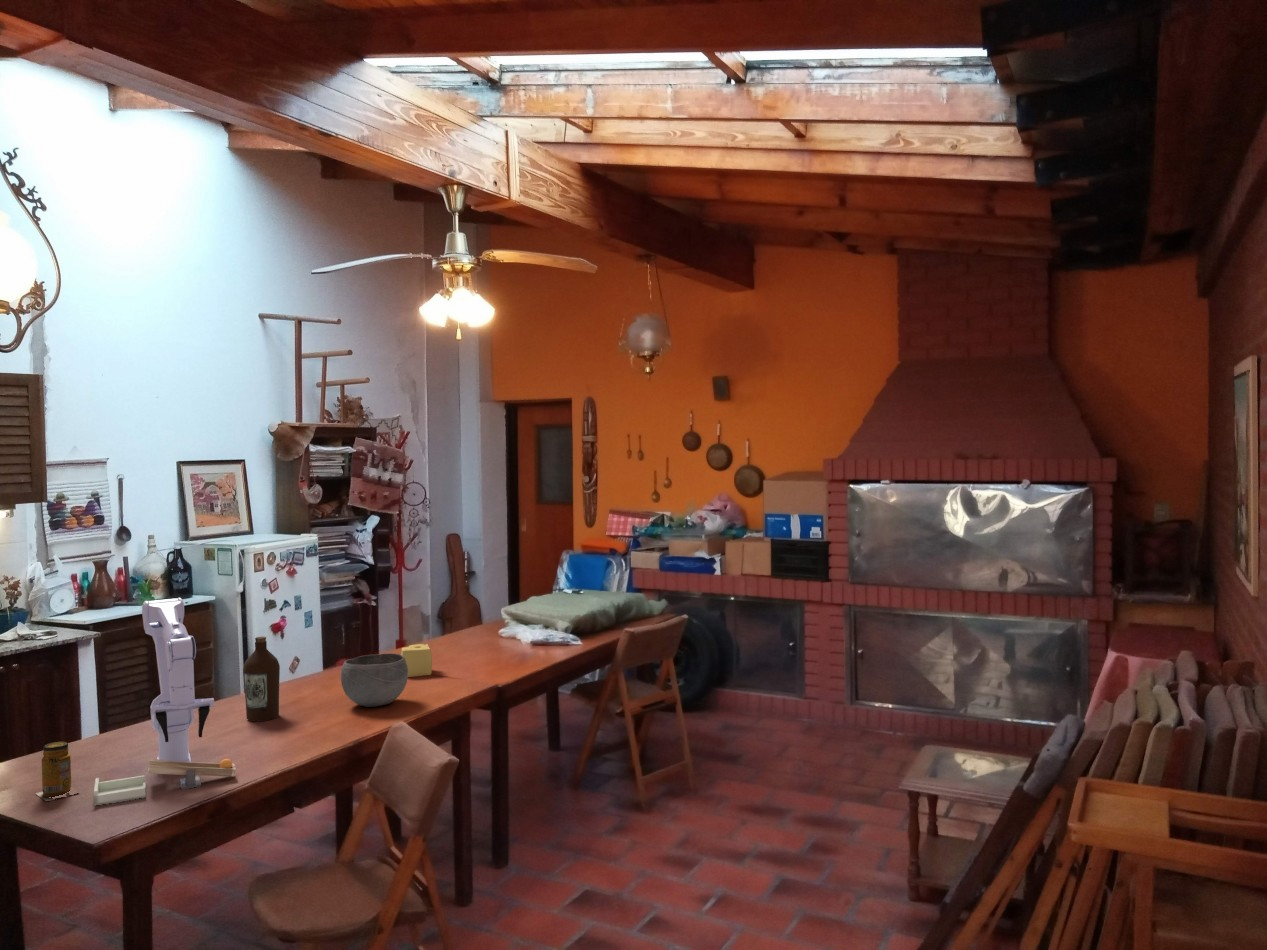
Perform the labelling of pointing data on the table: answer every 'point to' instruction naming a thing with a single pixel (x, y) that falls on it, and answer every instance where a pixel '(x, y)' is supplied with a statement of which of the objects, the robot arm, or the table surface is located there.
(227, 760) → the ball
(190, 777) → the pivot
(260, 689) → the olive oil
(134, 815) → the table surface
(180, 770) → the lever
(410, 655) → the cheese
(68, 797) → the table surface
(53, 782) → the condiment
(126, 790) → the dish
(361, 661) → the bowl
